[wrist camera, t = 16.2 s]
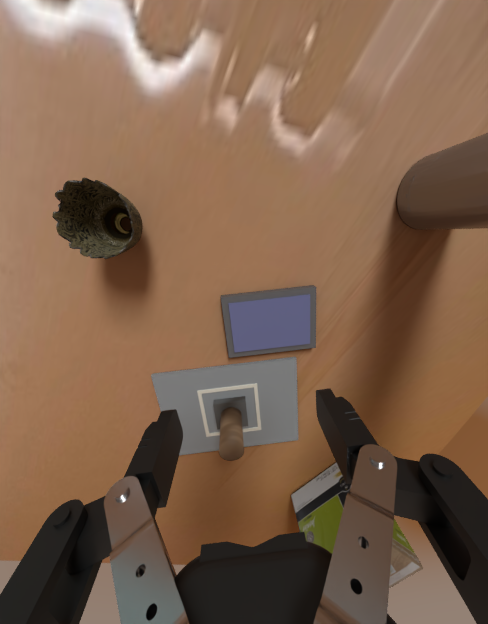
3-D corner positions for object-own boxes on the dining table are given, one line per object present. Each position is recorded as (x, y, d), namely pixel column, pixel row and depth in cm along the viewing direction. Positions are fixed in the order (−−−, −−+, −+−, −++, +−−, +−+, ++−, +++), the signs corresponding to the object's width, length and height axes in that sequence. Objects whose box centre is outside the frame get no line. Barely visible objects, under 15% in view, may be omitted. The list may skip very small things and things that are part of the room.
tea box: (317, 511, 52) (350, 614, 38) (289, 492, 49) (313, 595, 35) (370, 476, 49) (427, 572, 35) (343, 454, 46) (393, 549, 32)
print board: (295, 356, 38) (296, 359, 37) (297, 437, 44) (298, 440, 43) (152, 373, 37) (150, 376, 36) (174, 453, 43) (173, 457, 42)
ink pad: (313, 285, 34) (316, 287, 33) (312, 344, 37) (316, 348, 36) (221, 295, 34) (220, 298, 32) (229, 354, 37) (228, 358, 36)
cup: (146, 262, 31) (120, 270, 24) (91, 239, 30) (45, 240, 22) (163, 208, 29) (140, 200, 22) (105, 181, 28) (59, 162, 20)
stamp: (245, 396, 39) (249, 434, 32) (247, 420, 41) (252, 462, 33) (213, 399, 39) (209, 439, 31) (217, 424, 41) (215, 467, 33)
